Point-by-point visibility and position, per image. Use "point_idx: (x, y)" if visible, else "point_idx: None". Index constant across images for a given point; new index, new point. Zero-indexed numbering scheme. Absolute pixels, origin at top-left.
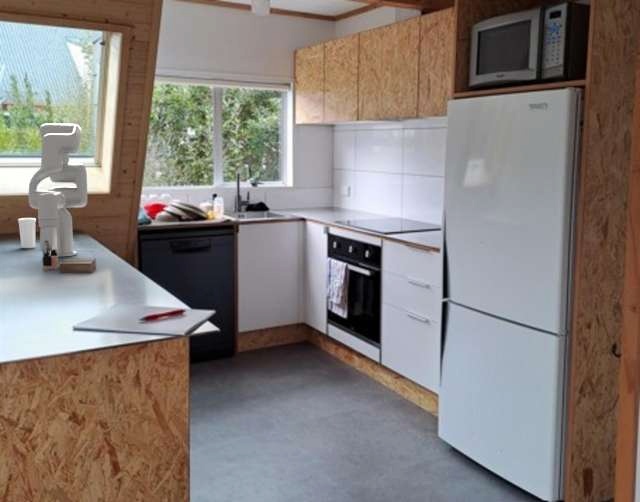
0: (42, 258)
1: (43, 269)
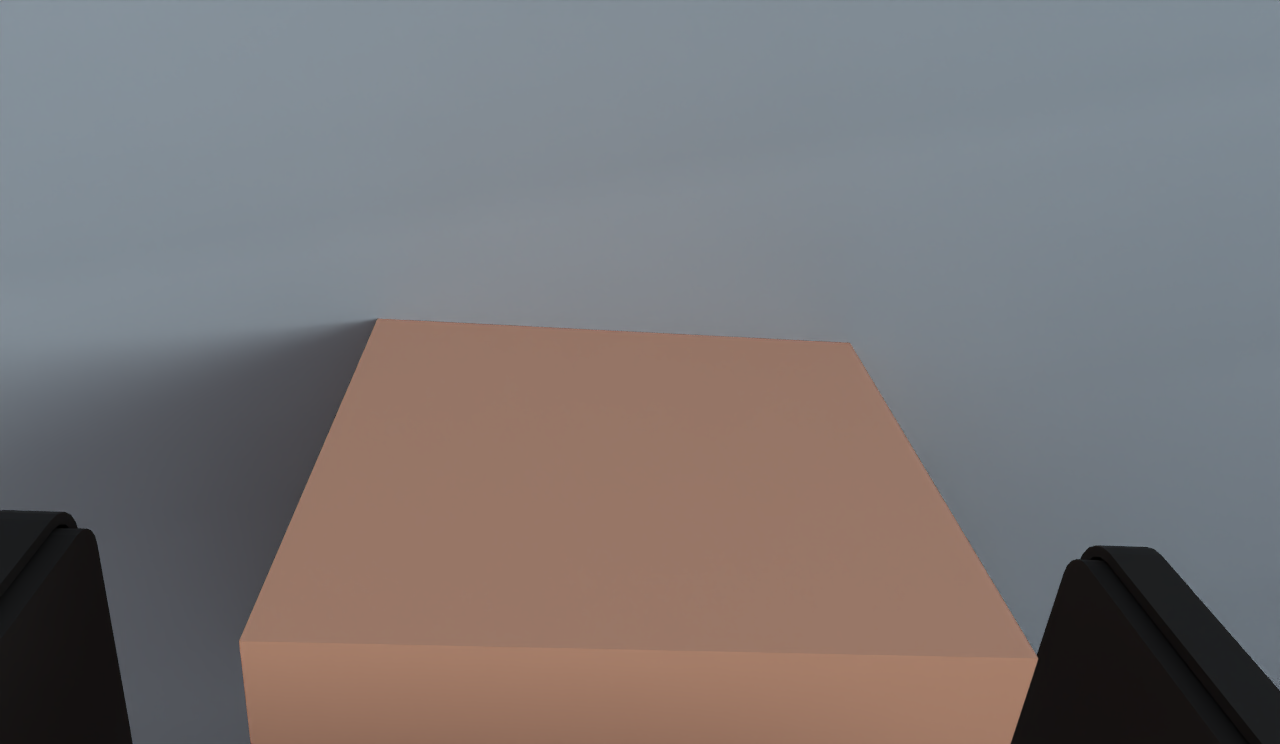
0: (253, 623)
1: (377, 341)
